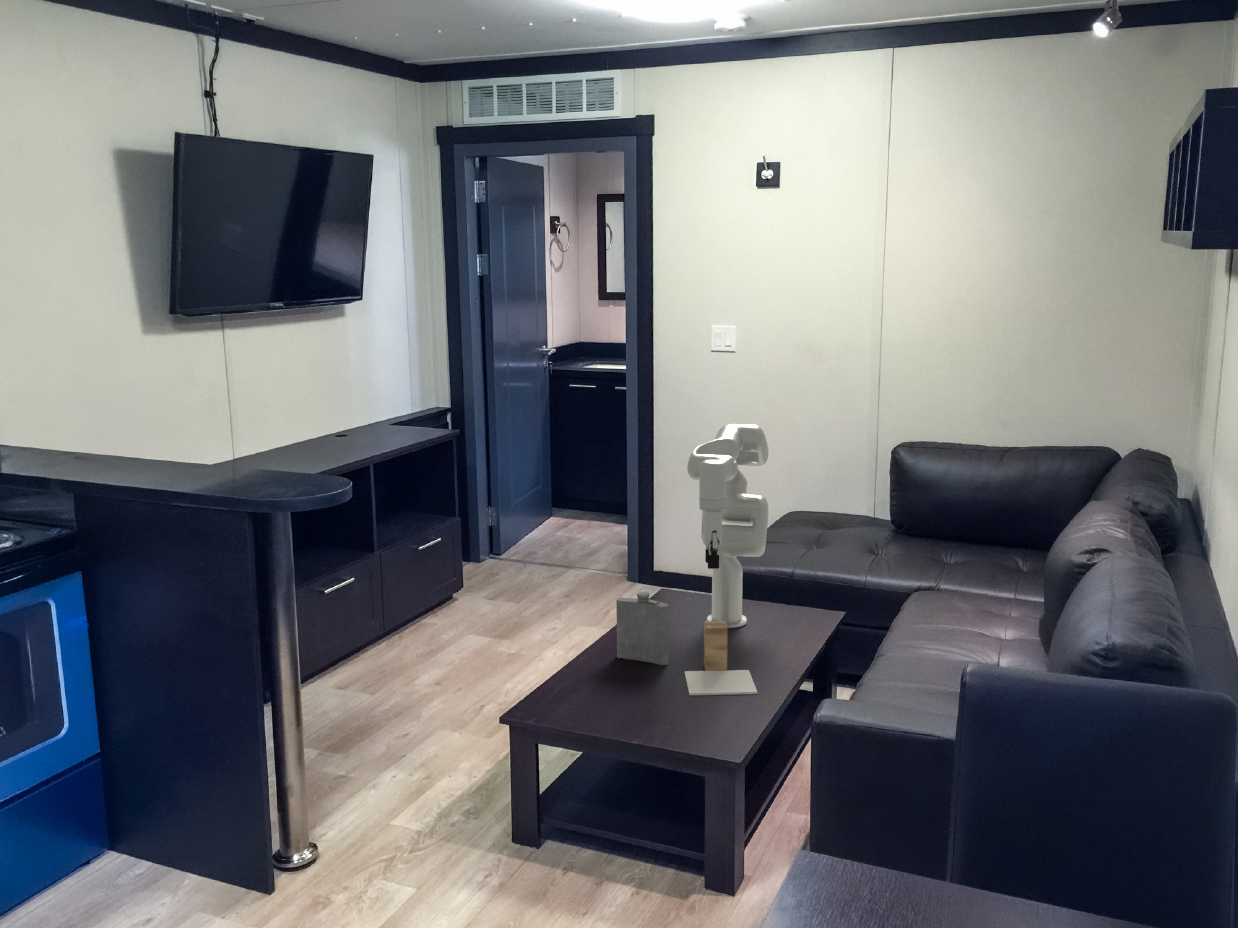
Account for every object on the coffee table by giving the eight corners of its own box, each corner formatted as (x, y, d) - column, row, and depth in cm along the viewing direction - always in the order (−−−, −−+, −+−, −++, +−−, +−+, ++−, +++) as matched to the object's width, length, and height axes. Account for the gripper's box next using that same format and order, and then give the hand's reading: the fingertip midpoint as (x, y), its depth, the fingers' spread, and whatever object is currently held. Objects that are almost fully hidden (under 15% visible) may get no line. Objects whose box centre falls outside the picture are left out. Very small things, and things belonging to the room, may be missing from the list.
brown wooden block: (703, 664, 300) (704, 621, 298) (724, 664, 300) (725, 620, 298) (705, 671, 295) (705, 627, 293) (727, 671, 296) (727, 627, 293)
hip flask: (615, 657, 306) (614, 591, 302) (621, 652, 310) (620, 587, 306) (666, 665, 300) (666, 598, 296) (671, 660, 303) (671, 594, 299)
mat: (684, 673, 294) (684, 671, 294) (748, 671, 295) (748, 669, 295) (689, 695, 280) (689, 693, 279) (757, 693, 280) (757, 691, 280)
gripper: (696, 497, 307) (696, 557, 310) (702, 510, 290) (702, 574, 293) (722, 496, 307) (721, 556, 310) (729, 510, 290) (729, 573, 294)
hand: (712, 564), depth 302 cm, fingers open, 5 cm apart
